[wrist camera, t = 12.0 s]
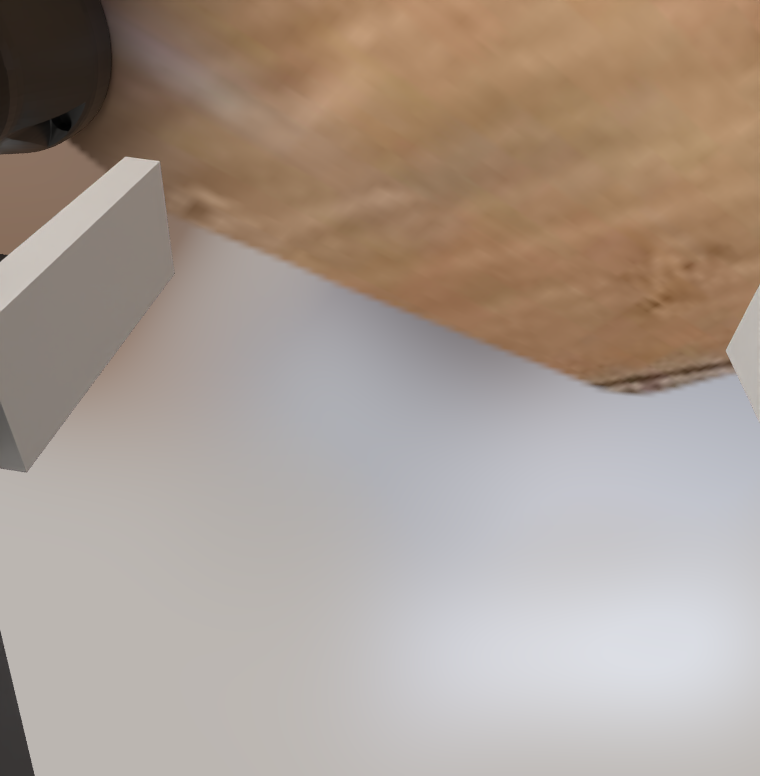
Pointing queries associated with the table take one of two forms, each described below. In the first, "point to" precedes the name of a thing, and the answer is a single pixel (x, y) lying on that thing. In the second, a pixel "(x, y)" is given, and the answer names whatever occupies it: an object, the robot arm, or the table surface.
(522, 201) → the table surface
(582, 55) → the table surface
